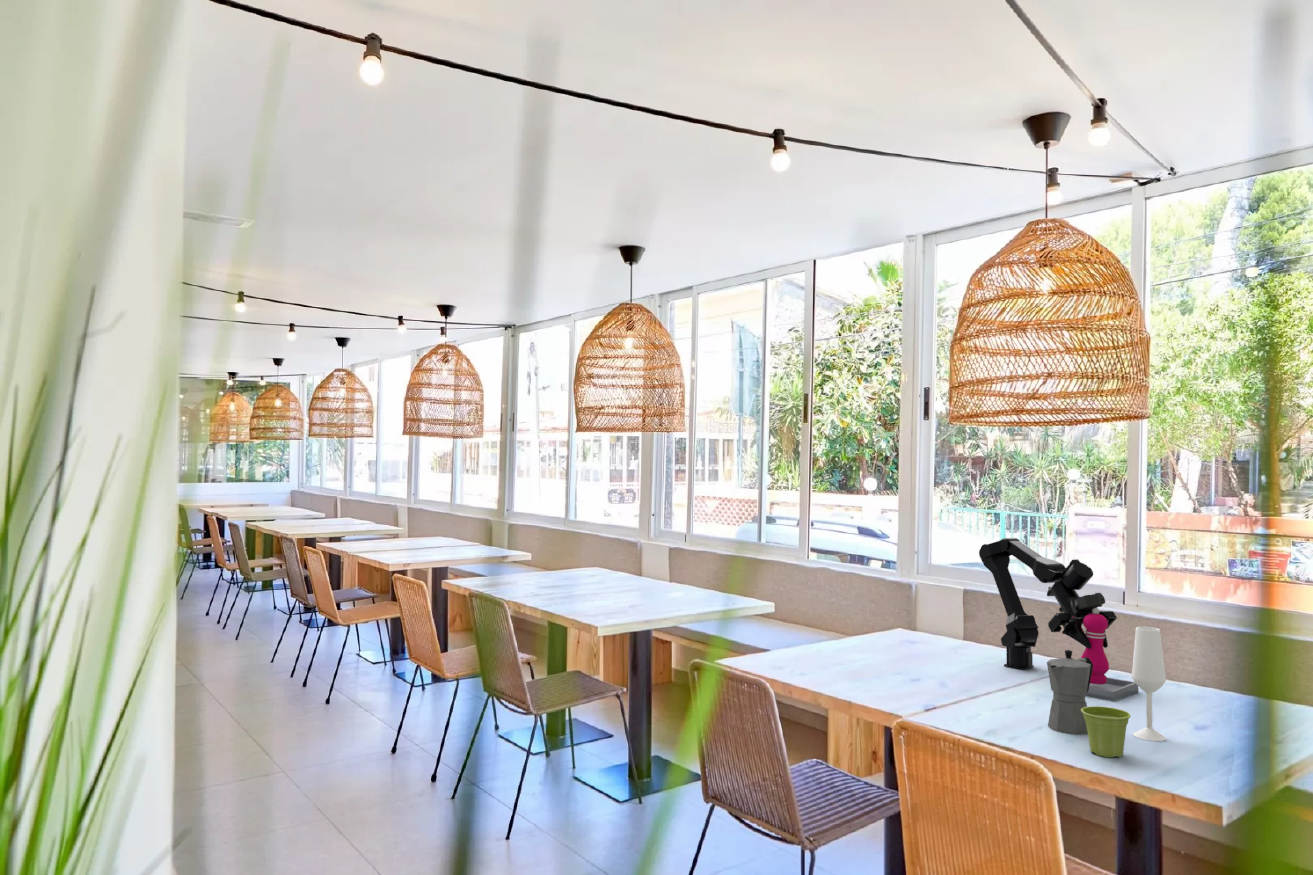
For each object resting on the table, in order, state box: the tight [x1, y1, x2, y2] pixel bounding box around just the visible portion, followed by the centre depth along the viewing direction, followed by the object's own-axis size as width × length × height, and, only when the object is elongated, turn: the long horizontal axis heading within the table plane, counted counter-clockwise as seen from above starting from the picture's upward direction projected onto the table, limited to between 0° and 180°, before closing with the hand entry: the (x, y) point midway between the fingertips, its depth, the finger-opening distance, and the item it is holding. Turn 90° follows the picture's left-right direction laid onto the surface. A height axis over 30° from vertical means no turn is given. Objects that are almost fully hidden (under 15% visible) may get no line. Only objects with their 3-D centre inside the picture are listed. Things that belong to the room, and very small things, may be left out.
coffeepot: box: [1046, 649, 1093, 735], centre depth 202 cm, size 15×9×18 cm, turn 121°
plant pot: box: [1081, 705, 1132, 758], centre depth 184 cm, size 9×9×9 cm
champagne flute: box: [1131, 626, 1168, 742], centre depth 196 cm, size 7×7×24 cm
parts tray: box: [1085, 676, 1139, 702], centre depth 237 cm, size 16×16×2 cm
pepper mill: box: [1080, 607, 1110, 685], centre depth 237 cm, size 7×7×20 cm
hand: (1098, 647), depth 236 cm, fingers closed on pepper mill, 5 cm apart
